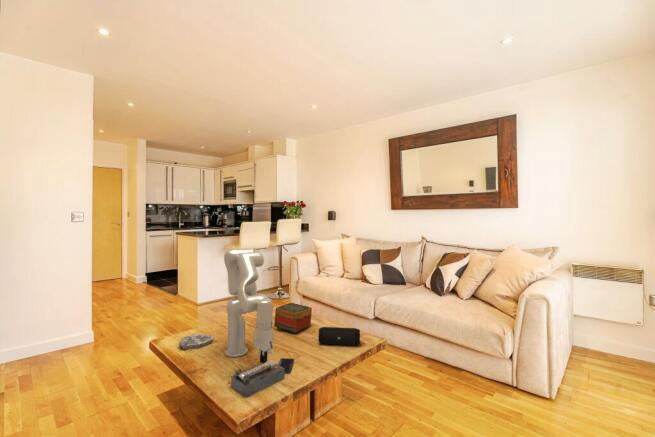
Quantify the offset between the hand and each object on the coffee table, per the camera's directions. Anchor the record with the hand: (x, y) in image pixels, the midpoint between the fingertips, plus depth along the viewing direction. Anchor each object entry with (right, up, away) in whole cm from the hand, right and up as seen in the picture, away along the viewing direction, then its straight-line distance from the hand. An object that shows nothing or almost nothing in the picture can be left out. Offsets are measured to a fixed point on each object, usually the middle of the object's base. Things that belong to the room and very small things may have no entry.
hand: (263, 362), depth 149 cm
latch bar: (-2, -3, -3) cm, 5 cm away
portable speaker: (+38, -9, +43) cm, 59 cm away
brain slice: (-51, -8, +40) cm, 65 cm away
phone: (+9, -9, +14) cm, 19 cm away
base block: (-2, -9, -3) cm, 9 cm away
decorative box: (+7, -8, +68) cm, 69 cm away
